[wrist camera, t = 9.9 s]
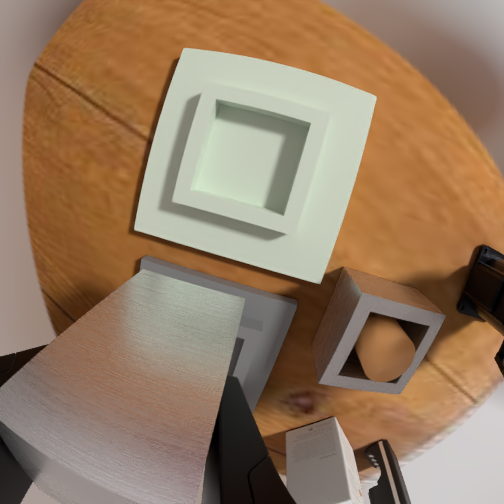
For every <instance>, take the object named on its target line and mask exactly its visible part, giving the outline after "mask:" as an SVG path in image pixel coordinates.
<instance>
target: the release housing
mask: <svg viewBox="0 0 504 504" xmlns="http://www.w3.org/2000/svg"><path fill="white" fill-rule="evenodd" d="M370 311H371V312H374V313H378V314H382V315H386V316H390V317H394V318H395V320H396V321H397V322H398V324H399V325H400V326H401V328H402V329H403V330H404V332H405V333H406V334H407V336H408V337H409V338H410V340H411V341H412V342H413V344H414V346H415V357H414V360H413V362H412V364H411V365H410V367H409V368H408V369H407V370H406V371H405V372H404V373H403V374H402V375H400V376H399V377H397V378H395V379H393V380H391V381H387V382H375V381H372V380H370V379H369V378H368V377H367V376H366V374H365V372H364V369H363V367H362V364H361V362H360V359H359V357H358V355H357V352H356V350H355V348H354V344H355V342H356V340H357V338H358V336H359V334H360V332H361V330H362V328H363V326H364V324H365V322H366V320H367V317H368V315H369V313H370ZM445 317H446V315H445V314H444V313H443V312H442V311H441V310H440V309H438V308H437V307H436V306H435V305H434V304H433V303H432V302H431V301H430V300H429V299H427V298H426V297H425V296H424V295H423V294H422V293H421V292H420V291H418V290H417V289H415V288H412V287H409V286H406V285H402V284H399V283H396V282H393V281H390V280H386V279H383V278H380V277H377V276H373V275H370V274H367V273H364V272H360V271H357V270H354V269H350V268H347V267H344V266H343V269H342V271H341V274H340V277H339V279H338V282H337V284H336V287H335V289H334V292H333V294H332V297H331V299H330V302H329V304H328V307H327V309H326V311H325V314H324V316H323V319H322V321H321V323H320V326H319V328H318V330H317V332H316V335H315V337H314V339H313V341H312V344H311V346H312V352H313V357H314V362H315V367H316V373H317V378H318V384H324V385H330V386H336V387H342V388H349V389H356V390H363V391H371V392H380V393H389V394H401V392H402V391H403V389H404V388H405V386H406V385H407V383H408V382H409V380H410V379H411V377H412V376H413V374H414V372H415V371H416V369H417V368H418V366H419V364H420V363H421V361H422V359H423V358H424V356H425V354H426V353H427V351H428V349H429V347H430V346H431V344H432V342H433V340H434V338H435V337H436V335H437V333H438V331H439V329H440V327H441V325H442V323H443V321H444V319H445Z"/></svg>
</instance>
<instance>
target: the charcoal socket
mask: <svg viewBox="0 0 504 504" xmlns="http://www.w3.org/2000/svg"><path fill="white" fill-rule="evenodd" d="M143 269H145V270H148V271H151V272H155V273H158V274H161V275H164V276H168V277H171V278H174V279H178V280H181V281H184V282H188V283H191V284H194V285H198V286H201V287H205V288H208V289H212V290H215V291H219V292H223V293H226V294H230V295H233V296H237V297H241V298H245V303H244V308H243V312H242V316H241V320H240V324H239V328H238V332H237V336H236V340H235V344H234V349H233V353H232V357H231V361H230V365H229V369H228V373H227V375H231V376H235V377H237V378H238V379H239V382H240V384H241V387H242V390H243V392H244V395H245V397H246V400H247V402H248V405H249V407H250V410H251V412H252V413H253V411H254V409H255V407H256V405H257V402H258V400H259V398H260V396H261V393H262V391H263V389H264V387H265V384H266V382H267V380H268V377H269V375H270V373H271V370H272V368H273V366H274V363H275V361H276V359H277V356H278V354H279V351H280V349H281V347H282V344H283V342H284V339H285V337H286V334H287V332H288V329H289V327H290V324H291V322H292V319H293V316H294V314H295V311H296V309H297V306H298V304H297V300H296V299H292V298H288V297H285V296H281V295H277V294H274V293H270V292H267V291H263V290H260V289H256V288H253V287H249V286H246V285H242V284H239V283H235V282H232V281H229V280H225V279H222V278H219V277H215V276H212V275H209V274H205V273H202V272H199V271H196V270H192V269H189V268H186V267H183V266H179V265H176V264H173V263H170V262H167V261H164V260H161V259H157V258H154V257H151V256H148V255H146V256H145V257H143V258H142V259H141V266H140V271H141V270H143Z"/></svg>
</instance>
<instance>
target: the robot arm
mask: <svg viewBox="0 0 504 504" xmlns="http://www.w3.org/2000/svg"><path fill="white" fill-rule="evenodd" d="M484 249H485V251H484ZM461 307H462V308H461ZM457 311H458V312H460V313H462V314H466V315H469V316H473V317H476V318H480V319H483V320H486V321H487V322H488V323H489V324H490V325H491V326H493V327H494V328H495V329H496V330H497V331H498V332H500V333H501V334H502V335H503V336H504V255H503V254H501V253H500V252H498V251H496V250H494V249H492V248H491V247H489V246H487V245H484V244H483V245H482V246H481V247H480V249H479V252H478V255H477V258H476V261H475V263H474V266H473V269H472V271H471V274H470V276H469V279H468V281H467V284H466V286H465V289H464V291H463V293H462V296H461V298H460V300H459V302H458V304H457ZM47 345H49V344H47ZM47 345H43V346H40V347H36V348H32V349H28V350H25V351H21V352H17V353H16V354H15V353H13V354H9V355H4V356H0V388H1V387H2V386H3V385H4V384H5V383H6V382H7V381H8V380H9V379H10V378H11V377H12V376H13V375H15V374H16V373H17V372H18V371H19V370H20V369H21V368H22V367H23V366H25V365H26V364H27V363H28V362H29V361H30V360H31V359H32V358H34V357H35V356H36V355H37V354H38V353H39V352H40V351H42V350H43V349H44V348H45V347H46V346H47ZM494 359H495V361H496V363H497V365H498V367H499V369H500V371H501V373H502V375H503V377H504V340H503V342H502V345H501V347H500V349H499V351H498V352H497V354H496V356H495V358H494ZM32 482H33V481H32V479H31V478H30V477H29V476H28V474H27V473H26V472H25V471H24V469H23V468H22V467H21V465H20V464H19V462H18V461H17V460H16V458H15V457H14V455H13V454H12V453H11V451H10V450H9V448H8V447H7V445H6V444H5V442H4V440H3V439H2V437H1V436H0V504H20V503H21V502H22V499H23V498H24V496H25V494H26V493H27V491H28V489H29V488H30V486H31V484H32ZM201 504H297V503H296V502H295V500H294V499H293V497H292V496H291V494H290V493H289V491H288V490H287V488H286V486H285V485H284V483H283V482H282V480H281V478H280V476H279V474H278V472H277V470H276V468H275V466H274V464H273V462H272V459H271V457H270V456H269V453H268V450H267V448H266V446H265V443H264V441H263V439H262V436H261V434H260V432H259V429H258V427H257V424H256V422H255V420H254V417H253V415H252V412H251V410H250V407H249V405H248V402H247V400H246V397H245V395H244V392H243V390H242V387H241V384H240V382H239V379H238V378H237V377H235V376H231V375H227V377H226V381H225V385H224V389H223V393H222V397H221V401H220V405H219V409H218V413H217V417H216V421H215V425H214V429H213V433H212V437H211V441H210V445H209V449H208V453H207V457H206V463H205V472H204V482H203V493H202V503H201Z"/></svg>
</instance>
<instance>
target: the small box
mask: <svg viewBox="0 0 504 504" xmlns="http://www.w3.org/2000/svg"><path fill="white" fill-rule="evenodd" d="M286 471H287V490H288V491H289V493H290V494H291V496H292V497H293V499H294V500H295V502H296V503H297V504H364V500H363V495H362V490H361V485H360V481H359V476H358V471H357V467H356V462H355V458H354V453H353V449H352V448H351V446H350V444H349V442H348V440H347V438H346V436H345V435H344V433H343V431H342V429H341V427H340V425H339V423H338V421H337V419H336V417H331V418H329V419H326V420H323V421H320V422H317V423H314V424H311V425H308V426H305V427H302V428H299V429H295V430H292V431H288V432H286Z"/></svg>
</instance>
